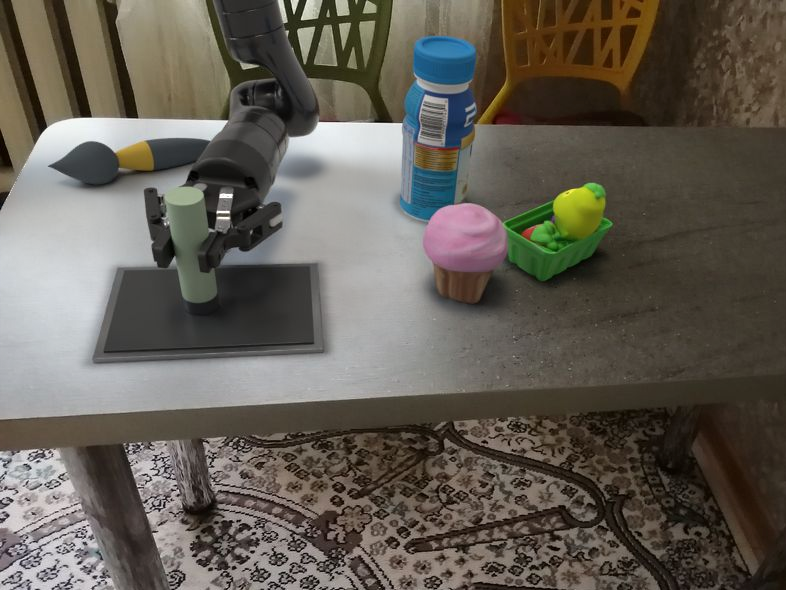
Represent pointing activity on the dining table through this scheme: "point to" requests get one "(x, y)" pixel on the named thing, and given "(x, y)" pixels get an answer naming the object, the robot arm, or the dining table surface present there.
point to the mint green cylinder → (191, 248)
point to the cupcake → (464, 249)
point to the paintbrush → (127, 158)
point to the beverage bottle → (438, 127)
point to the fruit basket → (558, 232)
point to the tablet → (212, 315)
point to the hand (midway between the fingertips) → (182, 261)
